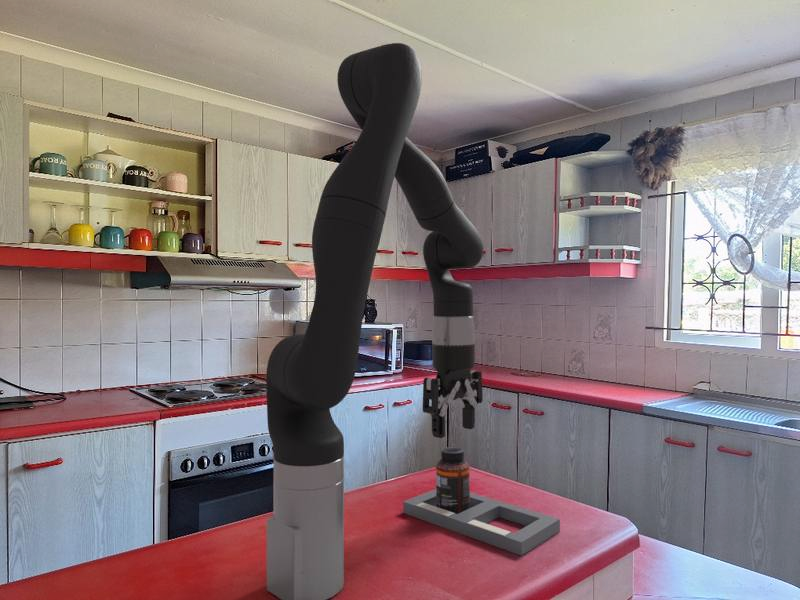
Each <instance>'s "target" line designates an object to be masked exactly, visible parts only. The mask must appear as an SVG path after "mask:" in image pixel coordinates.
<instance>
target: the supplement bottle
mask: <svg viewBox="0 0 800 600" xmlns="http://www.w3.org/2000/svg"><path fill="white" fill-rule="evenodd" d="M440 453H441V455H440V456H441V459H440V460H439V461H437V462H436V465H435V469H436V470H435V472H436V473H435V474H436V475H435V479H436V480H435V482H436V483H435V489H436V507H438V508H441V509H444V510H447V511H450V512H453V513H455V514H459V513H461V512H463V511H465V510H467V509H469V508H470V493H471V492H470V491H471V490H470V489H471V488H470V464H469V462H468V461H466V460H465V459H464V458H465V455H464V454H465V453H464V449H463V448H461V447H455V446H453V447H452V446H449V447H443V448H442V449H441V450H440Z"/></svg>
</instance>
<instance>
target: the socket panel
mask: <svg viewBox="0 0 800 600" xmlns="http://www.w3.org/2000/svg"><path fill="white" fill-rule="evenodd" d="M402 505H403V506H402V512H403V514H406V515H408V516H411V517H413V518H417V519H418V520H419V519H420V520H422V521H424V522H427V523H431V524H434V525H436V526H439V527H441V528H445V529H447V530H448V531H452V532H455V533H457V534H461V535H462V536H467V537H469V538H471V539H475V540H477V541H480V542H481V543H485V544H488V545H490V546H494V547H497V548H500V549H502V550H504V549H505V551H508V552H510V553H513V554H516V555H519V556H521V555H522V556H524V555H525V554H527V553H528V552H530V551H531V550H533V549H534V548H536V547H538V546H539V545H541V544H542V543H544V542H545V541H547V540H548V539H550V538H551V537H553V536H555V535H556V534H558V533H559V532H561V519H560V518H558V517H555V516H552V515H548V514H546V513H545V514H544V513H541V512H537V511H535V510H531V509H527V508H524V507H522V506H521V507H520V506H517V505H515V504H511V503H507V502H504V501H500V500H497V499H493V498H492V497H491V498H489V497H487V496H484V495H480V494H476V493H473V492H470V508H469V509H467V510H465V511H463V512H461V513H459V514H455V513H453V512H450V511H447V510H444V509H441V508H438V507H436V488H435V489H431V490H429V491H427V492H424V493H421V494H419V495H417V496H415V497H411V498H409V499H406V500H404V501H402ZM497 519H503V520H507V521H509V522H512V523H515V524H519V525H523V526H524V527H523V528H521V529H519V530H518V531H516V532H512V531H510V530H506V529H503V528H500V527H498V526H494V525H492V524H489V523H491V522H493V521H494V520H497ZM523 554H524V555H523Z"/></svg>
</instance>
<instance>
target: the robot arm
mask: <svg viewBox="0 0 800 600" xmlns="http://www.w3.org/2000/svg"><path fill="white" fill-rule="evenodd" d="M336 78H337V79H336V81H337V82H336V83H337V88H338V91H339V95H340V97H341V98H340V99H342V102H343V104H344V106H345V107H346V109H347V111H348V113H350V115H351V116H352V119H354V122H356V124H357V125H358V127H359V128H360V130H361V132H360V134H359V136H358V137H357V139H356V141H355V142H354V144H352V146H351V147H350V149H349V151H347V153H346V154H345V155H344V157H342V160H340V162H339V163H338V164H337V166H336V168H335V169H334V170H333V172H332V173H331V175H330V176H329V178H328V179H327V181H326V183H325V185H324V187H323V190H322V193H321V195H320V198H319V203H318V206H317V211H316V215H315V219H314V221H313V222H314V223H313V227H312V235H311V249H312V251H311V252H312V260H313V261H312V262H313V268H314V275H315V292H314V294H315V295H314V300H313V306H312V310H311V313H310V316H309V317H310V318H309V320H308V324H307V327H306V330H305V333H303V334H300V333H299V334H292V335H289V336H287V337H284V338H282V339H281V340H280V341H279V342H278V343H277V344H275V346H274V347H273V349H272V350H271V352H270V355H269V358H268V361H267V366H266V373H265V374H266V375H265V377H266V379H265V383H266V385H265V387H266V388H265V389H266V390H265V391H266V393H265V394H266V417H267V430H268V433H269V438H270V440H271V444H272V449H273V453H272V455H273V481H272V482H273V483H272V484H273V490H272V491H273V497H272V498H273V500H272V501H273V507H272V508H273V513H272V514H273V515H272V516H269V517H267V519H266V590H267V592H268V593H271V594H273V595H274V596H276V597H277V598H279V599H280V600H329V599H331V598H333V597H335V596H336V595H337V594H339V593H340V592H341V590H342V589H343V587H344V582H345V581H344V580H345V579H344V576H345V575H344V574H345V573H344V570H345V568H344V565H345V563H344V562H345V559H344V558H345V554H344V553H345V551H344V550H345V549H344V548H345V547H344V546H345V545H344V544H345V540H344V539H345V533H344V532H345V530H344V529H345V521H344V520H345V503H344V502H345V441H344V440H345V439H344V436H343V435H344V434H343V433H342V432H341V430H340V429H339V427H338V426H337V425H336V423H335V421H334V419H333V417H332V414H331V410H330V409H332V408H334V407H336V406H338V404H340V403H341V402H342V401H343V400H344V399H345V398H346V396H348V394H349V391H350V390H351V387H352V385H353V382H354V380H355V375H356V371H357V367H358V359H359V352H360V351H359V349H360V342H361V341H360V340H361V334H362V326H363V325H362V324H363V317H364V311H365V306H366V301H367V298H368V297H367V296H368V292H369V287H370V284H371V279H372V278H371V277H372V276H373V275H372V274H373V270H374V265H375V260H376V256H377V252H378V249H379V245H380V241H381V238H382V233H383V229H384V224H385V221H386V216H387V211H388V205H389V200H390V195H391V191H392V187H393V183H394V179H395V181H397V183H398V185H399V187H400V189H401V190H402V192H403V195H404V197H405V199H406V200H407V203H408V205H409V207H410V209H411V211H412V213H413V215H414V218H415V220H416V221H417V223H418V225H419V226H420V227H421V228H422V229H423V230H426V231H429V232H430V233H429V234H428V235H427V236H426V237H425V240H424V242H423V247H422V255H423V259H424V260H423V261H424V264H425V268H426V271H427V273H428V274H427V275H428V277H429V282H430V286H431V290H432V294H433V321H432V330H431V334H432V335H431V338H432V339H431V341H432V344H431V345H432V346H431V347H432V348H431V349H432V353H431V355H432V368H434V369H435V370H436V376H435V378H431V377H424V379H423V380H422V381H423V383H422V384H423V386H422V388H423V389H422V412H423V413H426V414H429V415H430V416H431V433H432V436H433V437H434V438H438V439H443V438H445V437H446V416H445V414H446V411H447V410H448V407H449V406H452V404H453V401H455V400H458V399H459V400H460V402H461V404H462V406H463V407H462V408H461V409H462V410H461V411H462V414H461V415H462V417H461V418H462V421H461V422H462V427H463V428H464V429H467V430H473V429H475V423H476V415H475V414H476V408H477V407H478V404H482V403H483V402H484V401H483V399H484V398H483V395H484V394H483V376H482V375H483V374H482V371H480V370H475V369H474V368H475V367H476V353H475V352H476V349H475V348H476V336H475V334H476V331H475V330H476V328H475V323H474V322H475V321H474V290H473V287H472V286H471V285H470V284H468V283H466V282H463V281H462V282H461V281H456V280H455V279H454V278H453V276H452V274H451V271H450V270H456V269H459V270H460V269H462V270H463V269H471V268H473V267H476V266H477V265H478V264H479V263H480V262H481V260H482V258H483V254H484V244H483V240H482V237H481V235H480V233H479V231H478V230H477V228H476V227H475V226H474V224H473V223H472V222H471V221H470V220H469V218H468V217H467V216H466V215H465V214H464V212H463V211H462V210H461V209H460V208H459V207H458V206H457V204H456V202H455V200H454V198H453V195H452V192H451V190H450V188H449V186H448V184H447V181H446V179H445V176H444V175H443V173H442V172H441V170H440V169H439V167H438V166H437V165H436V164H435V162H434V161H433V160H432V159H430V158H429V157H428V156H427V155H426V154H425V153H424V152H423V151H422V150H421V149H420V148H418V147H417V145H415V144H414V143H413V142H412V141H411V140H410V139H409V138H408V137H407V135H408V133H409V129H410V127H411V123H412V121H413V119H414V115H415V112H416V110H417V106H418V103H419V99H420V95H421V91H422V68H421V64H420V60H419V57H418V55H417V53H416V51H415V50H414V49H413V48H412V47H411V46H409V45H408V44H405V43H401V42H394V43H393V42H392V43H386V44H382V45H378V46H375V47H372V48H371V47H370V48H368V49H365V50H361V51H358V52H356V53H352V54H350V55H348V56H346V58H345V57H344V59H343V60H342V61H341V63H340V65H339V68H338V70H337V77H336ZM473 369H474V370H473ZM475 392H476V395H475ZM430 400H431V401H430ZM430 402H431V405H430ZM439 406H440V407H439Z"/></svg>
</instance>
